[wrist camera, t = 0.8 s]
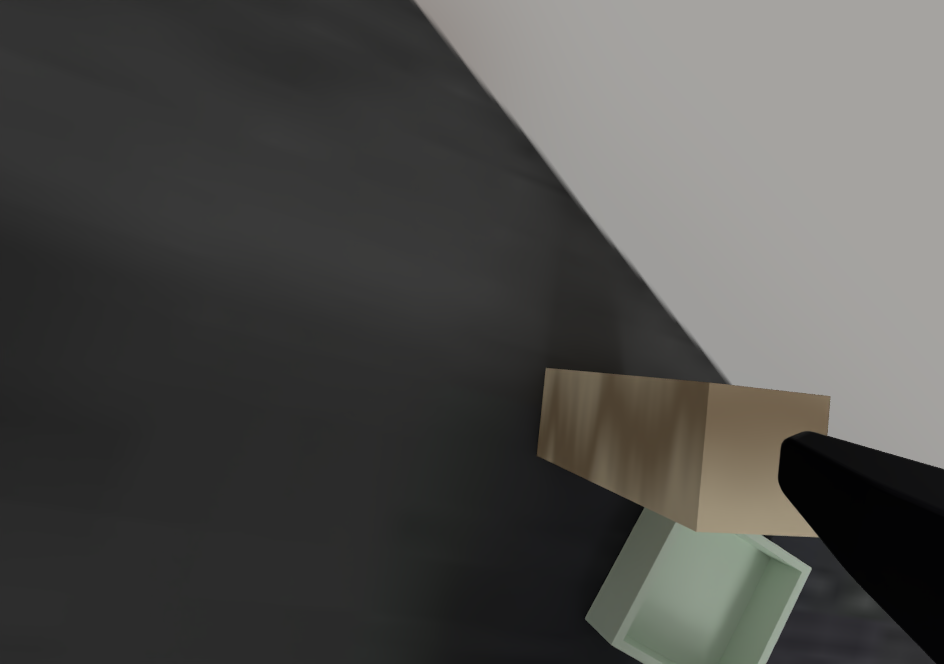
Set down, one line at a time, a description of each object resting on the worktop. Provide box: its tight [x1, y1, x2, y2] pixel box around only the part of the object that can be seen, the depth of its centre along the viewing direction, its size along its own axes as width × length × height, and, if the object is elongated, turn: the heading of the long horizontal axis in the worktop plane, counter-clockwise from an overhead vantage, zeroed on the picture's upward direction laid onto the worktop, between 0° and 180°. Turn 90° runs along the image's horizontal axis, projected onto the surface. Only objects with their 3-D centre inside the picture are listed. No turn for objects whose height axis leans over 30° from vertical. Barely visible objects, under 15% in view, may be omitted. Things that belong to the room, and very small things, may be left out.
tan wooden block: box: [537, 368, 830, 537], centre depth 23 cm, size 4×4×12 cm
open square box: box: [585, 507, 812, 664], centre depth 29 cm, size 7×7×3 cm
